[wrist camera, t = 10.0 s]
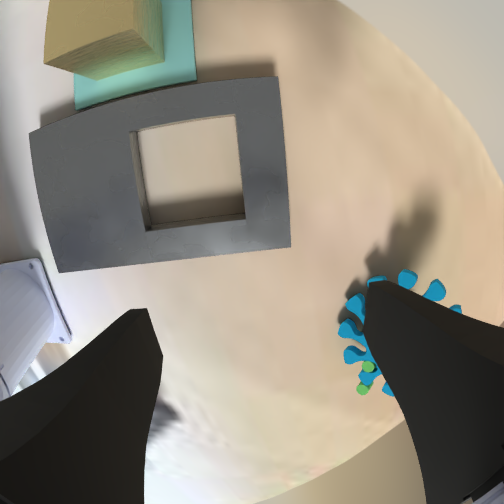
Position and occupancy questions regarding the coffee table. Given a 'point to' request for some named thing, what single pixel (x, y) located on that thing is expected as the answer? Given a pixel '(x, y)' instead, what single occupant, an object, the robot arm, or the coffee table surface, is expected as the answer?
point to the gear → (351, 331)
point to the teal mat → (154, 76)
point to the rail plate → (132, 186)
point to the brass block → (103, 36)
